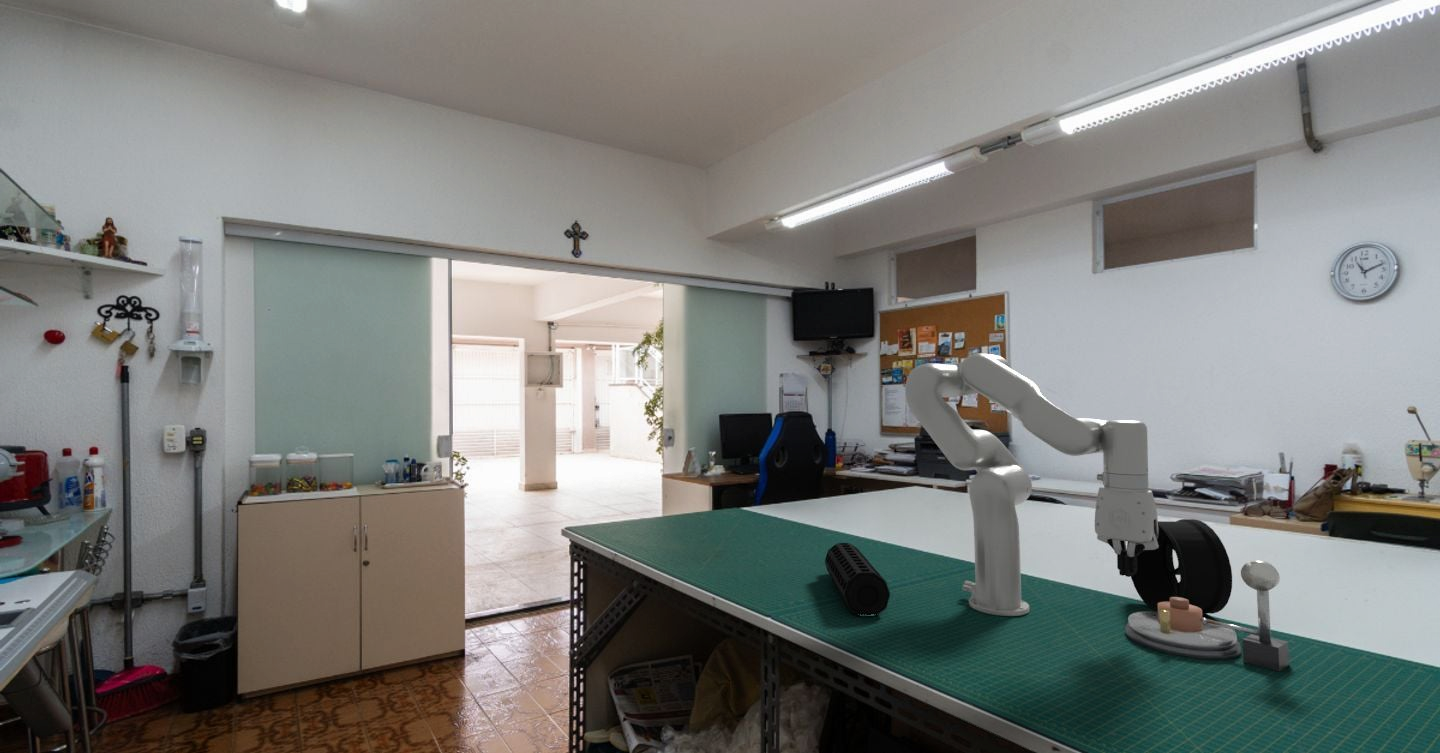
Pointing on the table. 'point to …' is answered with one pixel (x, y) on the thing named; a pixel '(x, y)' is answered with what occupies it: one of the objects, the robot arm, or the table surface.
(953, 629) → the table surface
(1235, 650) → the turntable base
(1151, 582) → the car wheel rim
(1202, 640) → the disc
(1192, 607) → the cover
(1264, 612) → the metal lever
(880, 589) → the roller
